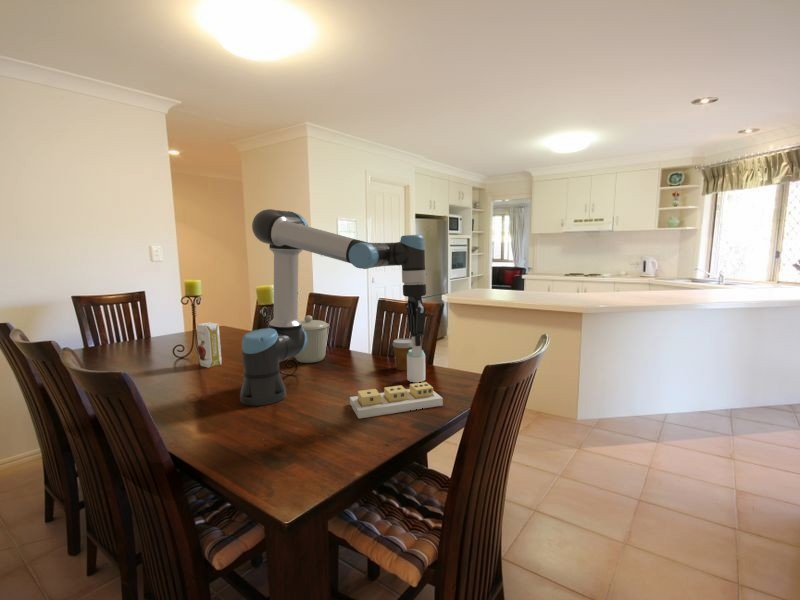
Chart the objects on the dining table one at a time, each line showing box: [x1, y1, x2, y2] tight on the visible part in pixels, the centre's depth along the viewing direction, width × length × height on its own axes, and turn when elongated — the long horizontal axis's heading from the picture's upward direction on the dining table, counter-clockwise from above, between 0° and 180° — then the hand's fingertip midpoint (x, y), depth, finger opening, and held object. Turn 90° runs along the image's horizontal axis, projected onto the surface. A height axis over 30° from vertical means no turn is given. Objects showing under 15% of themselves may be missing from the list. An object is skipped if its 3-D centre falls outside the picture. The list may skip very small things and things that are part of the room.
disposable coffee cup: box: [391, 338, 412, 371], centre depth 171 cm, size 10×10×12 cm
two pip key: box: [383, 385, 408, 403], centre depth 131 cm, size 6×6×4 cm
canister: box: [294, 314, 330, 364], centre depth 185 cm, size 18×18×21 cm
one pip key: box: [357, 388, 381, 407], centre depth 128 cm, size 6×6×4 cm
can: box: [406, 348, 426, 384], centre depth 155 cm, size 7×7×12 cm
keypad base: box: [349, 388, 444, 420], centre depth 132 cm, size 28×12×2 cm, turn 109°
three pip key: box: [409, 381, 434, 399], centre depth 134 cm, size 6×6×4 cm
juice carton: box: [196, 321, 222, 369], centre depth 179 cm, size 8×9×19 cm
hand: (417, 354), depth 132 cm, fingers closed
